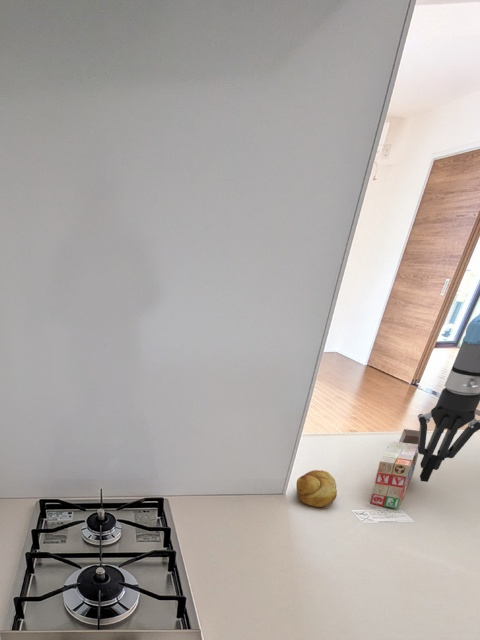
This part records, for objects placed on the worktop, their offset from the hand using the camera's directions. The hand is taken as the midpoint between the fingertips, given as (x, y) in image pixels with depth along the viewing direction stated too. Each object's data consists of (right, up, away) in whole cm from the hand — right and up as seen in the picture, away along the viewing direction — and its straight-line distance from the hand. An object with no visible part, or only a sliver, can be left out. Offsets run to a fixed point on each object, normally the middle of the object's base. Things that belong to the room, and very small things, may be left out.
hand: (423, 479), depth 113 cm
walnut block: (+13, +12, +24) cm, 30 cm away
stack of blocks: (-5, -3, +4) cm, 7 cm away
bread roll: (-27, -5, +3) cm, 28 cm away
